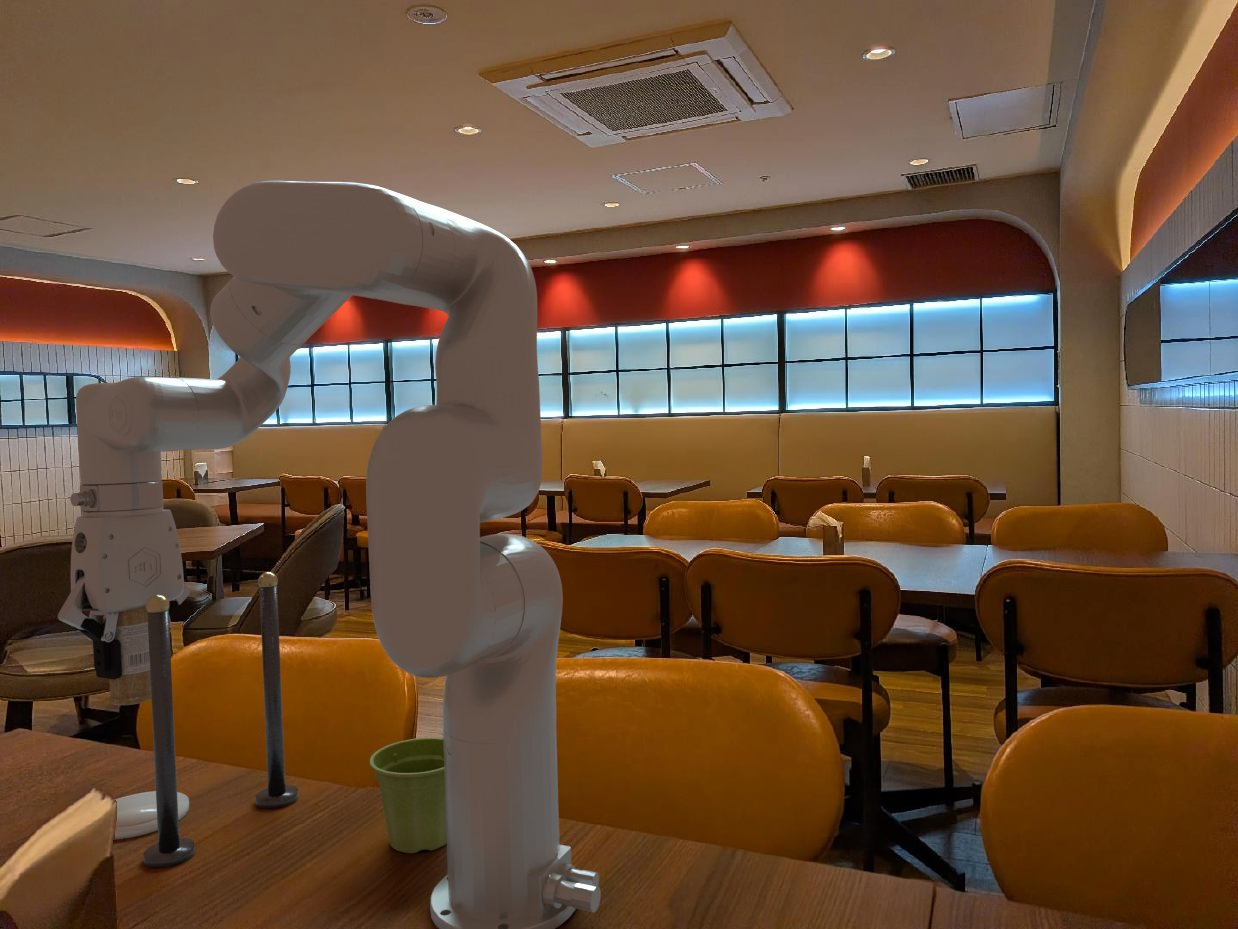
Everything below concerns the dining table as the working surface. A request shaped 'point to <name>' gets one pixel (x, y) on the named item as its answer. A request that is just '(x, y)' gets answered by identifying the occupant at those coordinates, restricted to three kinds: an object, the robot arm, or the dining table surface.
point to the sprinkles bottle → (132, 659)
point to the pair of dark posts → (169, 843)
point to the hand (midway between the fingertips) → (131, 669)
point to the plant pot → (413, 793)
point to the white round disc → (142, 814)
